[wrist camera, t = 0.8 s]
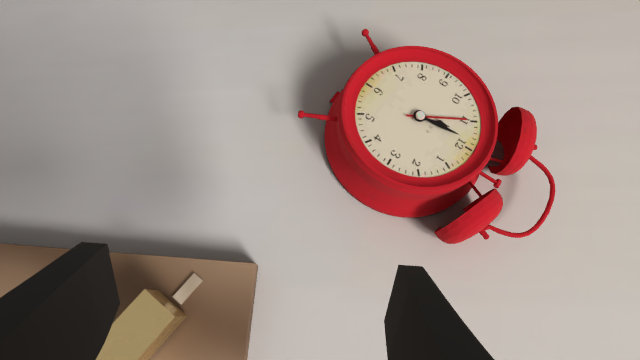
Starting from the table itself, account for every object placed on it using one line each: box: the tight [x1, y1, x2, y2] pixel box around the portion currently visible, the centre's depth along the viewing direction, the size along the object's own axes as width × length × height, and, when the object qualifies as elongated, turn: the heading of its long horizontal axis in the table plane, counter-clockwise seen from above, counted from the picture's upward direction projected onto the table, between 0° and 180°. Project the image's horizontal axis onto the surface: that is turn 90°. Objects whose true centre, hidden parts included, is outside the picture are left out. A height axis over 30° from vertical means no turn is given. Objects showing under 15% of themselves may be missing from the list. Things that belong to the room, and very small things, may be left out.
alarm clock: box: [298, 29, 555, 244], centre depth 25 cm, size 10×6×15 cm
